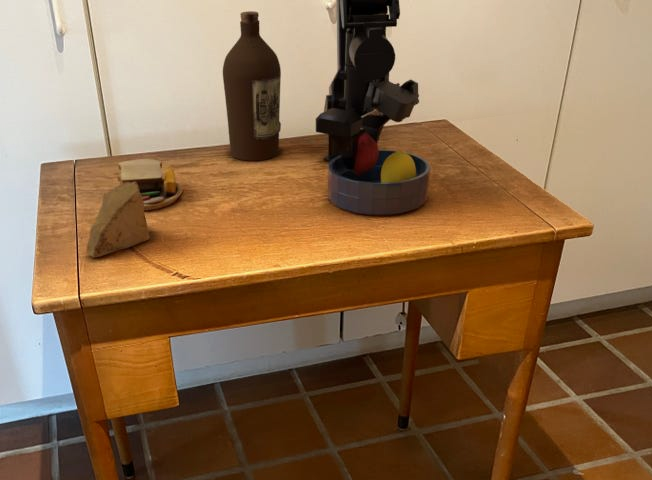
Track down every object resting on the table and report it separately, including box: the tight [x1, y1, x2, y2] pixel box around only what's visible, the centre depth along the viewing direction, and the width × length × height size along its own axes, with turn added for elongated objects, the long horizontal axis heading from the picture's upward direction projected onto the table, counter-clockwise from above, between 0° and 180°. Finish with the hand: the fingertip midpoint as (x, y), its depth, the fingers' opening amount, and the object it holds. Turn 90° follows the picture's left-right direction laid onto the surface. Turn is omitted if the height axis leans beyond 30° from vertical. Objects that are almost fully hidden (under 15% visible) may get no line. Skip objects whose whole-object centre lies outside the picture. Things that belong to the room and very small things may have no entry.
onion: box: [351, 127, 380, 176], centre depth 119 cm, size 6×6×8 cm
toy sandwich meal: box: [112, 158, 183, 211], centre depth 124 cm, size 12×14×5 cm
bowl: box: [327, 148, 431, 216], centre depth 120 cm, size 16×16×6 cm
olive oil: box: [222, 10, 282, 162], centre depth 136 cm, size 11×11×25 cm
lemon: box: [381, 149, 416, 183], centre depth 117 cm, size 6×6×8 cm
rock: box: [86, 181, 150, 259], centre depth 108 cm, size 11×9×10 cm
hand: (359, 163), depth 121 cm, fingers closed on onion, 6 cm apart
